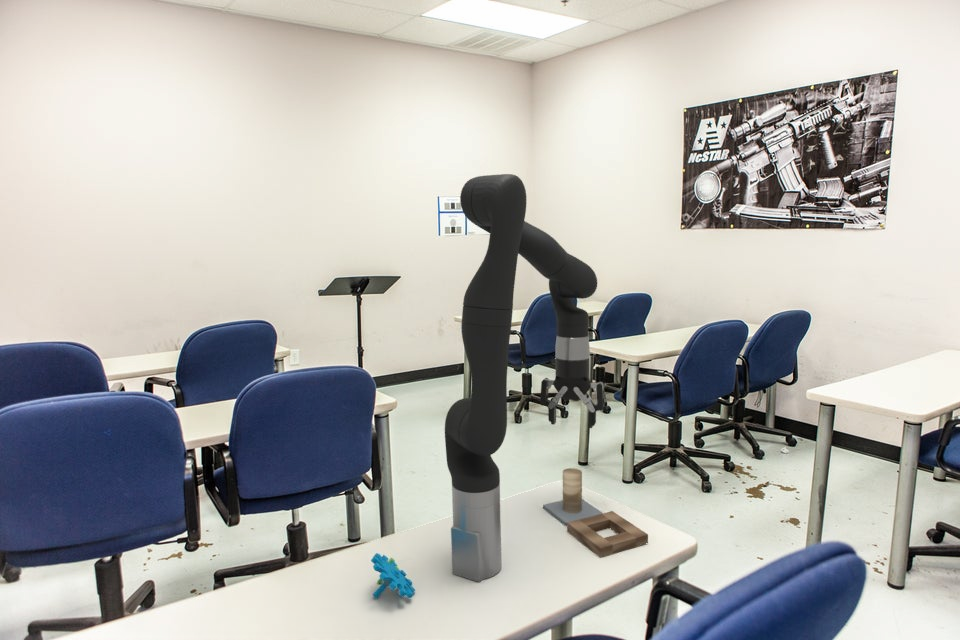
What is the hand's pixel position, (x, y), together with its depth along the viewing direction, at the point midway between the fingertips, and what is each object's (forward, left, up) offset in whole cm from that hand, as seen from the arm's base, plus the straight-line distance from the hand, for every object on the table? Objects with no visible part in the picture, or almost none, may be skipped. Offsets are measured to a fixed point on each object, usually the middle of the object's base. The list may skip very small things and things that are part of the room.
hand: (572, 425), depth 136 cm
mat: (0, 0, -21) cm, 21 cm away
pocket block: (-7, -11, -21) cm, 25 cm away
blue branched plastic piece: (-45, +16, -21) cm, 52 cm away
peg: (0, 0, -20) cm, 20 cm away
